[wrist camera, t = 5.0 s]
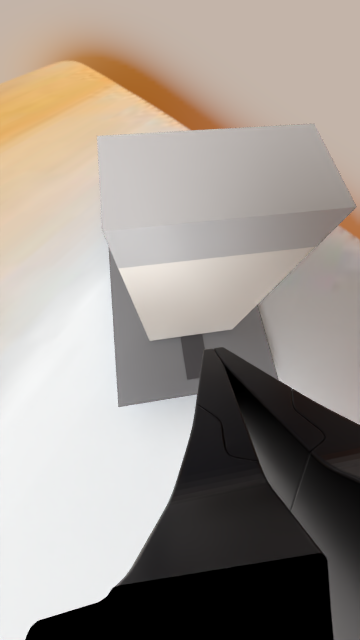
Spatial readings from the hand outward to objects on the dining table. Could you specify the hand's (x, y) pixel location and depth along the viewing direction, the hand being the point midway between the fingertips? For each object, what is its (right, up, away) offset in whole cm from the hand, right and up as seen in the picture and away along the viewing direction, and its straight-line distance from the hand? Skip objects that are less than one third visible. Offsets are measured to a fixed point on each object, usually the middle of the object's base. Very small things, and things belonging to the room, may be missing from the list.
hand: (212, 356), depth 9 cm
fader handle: (-1, +2, +7) cm, 7 cm away
